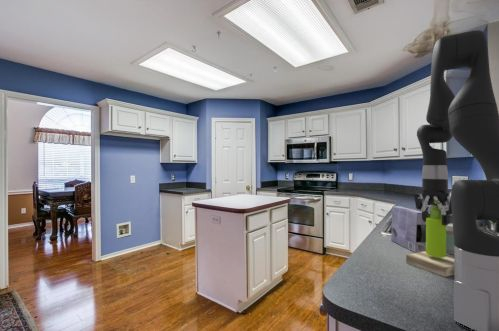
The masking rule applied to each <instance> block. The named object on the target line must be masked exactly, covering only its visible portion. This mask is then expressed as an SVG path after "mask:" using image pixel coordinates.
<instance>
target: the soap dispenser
mask: <svg viewBox="0 0 499 331" xmlns="http://www.w3.org/2000/svg"><path fill="white" fill-rule="evenodd" d="M433 202H434V203H435V204H440V203H441V202H436V201H433ZM441 204H442V203H441ZM442 215H443V213H442V211H441V209H439V207H438V206H436V205H432V208H429V217H428V218H426V254H428V255H431V256H434V257H442V258H443V257H446V256H447V253H446V226H444V225H442Z"/></svg>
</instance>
